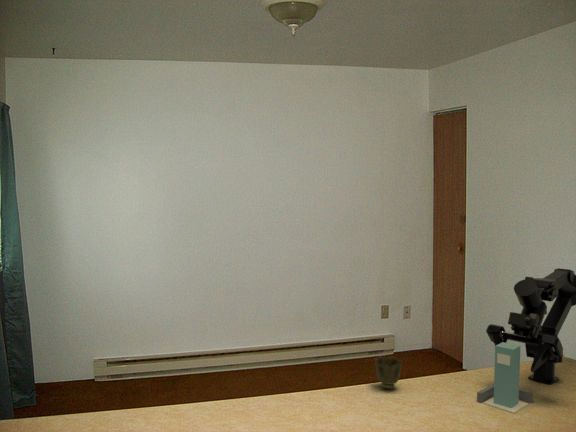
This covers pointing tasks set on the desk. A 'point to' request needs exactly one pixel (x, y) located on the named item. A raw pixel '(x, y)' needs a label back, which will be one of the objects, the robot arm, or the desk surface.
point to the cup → (388, 371)
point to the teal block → (506, 374)
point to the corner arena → (489, 393)
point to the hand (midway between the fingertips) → (513, 366)
